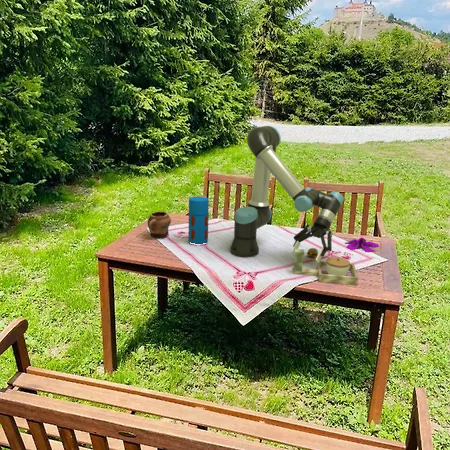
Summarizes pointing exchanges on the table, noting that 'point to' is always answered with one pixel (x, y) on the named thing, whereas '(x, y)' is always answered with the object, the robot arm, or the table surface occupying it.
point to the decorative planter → (159, 224)
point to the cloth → (361, 245)
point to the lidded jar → (337, 266)
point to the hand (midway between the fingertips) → (304, 257)
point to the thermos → (198, 219)
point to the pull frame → (321, 277)
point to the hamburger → (312, 253)
